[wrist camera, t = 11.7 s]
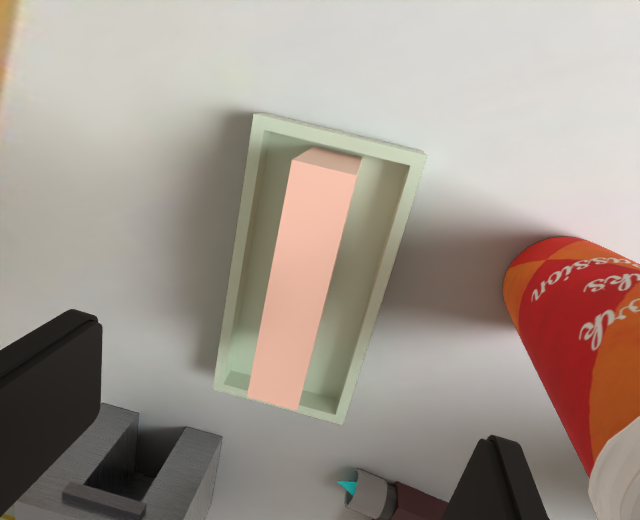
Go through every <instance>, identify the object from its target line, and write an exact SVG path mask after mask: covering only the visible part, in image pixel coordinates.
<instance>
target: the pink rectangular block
mask: <svg viewBox="0 0 640 520" xmlns="http://www.w3.org/2000/svg"><path fill="white" fill-rule="evenodd" d="M361 161H362V157H361V156H357V155H353V154H349V153H345V152H341V151H337V150H333V149H329V148H324V147H320V146H314V147H312V148H311V149H309V150H307V151H306V152H304V153H302V154H301V155H299V156H297V157H296V158H294V159H292V162H291V168H290V173H289V178H288V183H287V189H286V194H285V199H284V204H283V210H282V215H281V220H280V225H279V231H278V236H277V241H276V246H275V252H274V257H273V262H272V267H271V273H270V278H269V283H268V288H267V294H266V299H265V304H264V309H263V315H262V320H261V325H260V330H259V336H258V341H257V346H256V351H255V357H254V362H253V367H252V373H251V378H250V383H249V388H248V394H247V397H249V398H252V399H256V400H260V401H263V402H267V403H271V404H274V405H278V406H281V407H285V408H289V409H292V410H296V411H297V409H298V405H299V402H300V398H301V394H302V390H303V387H304V383H305V379H306V375H307V372H308V368H309V364H310V361H311V357H312V353H313V349H314V346H315V342H316V338H317V334H318V330H319V326H320V322H321V318H322V314H323V310H324V307H325V303H326V299H327V295H328V291H329V287H330V283H331V279H332V275H333V271H334V267H335V263H336V259H337V255H338V251H339V248H340V244H341V240H342V236H343V232H344V228H345V224H346V220H347V216H348V212H349V208H350V204H351V200H352V196H353V192H354V189H355V185H356V181H357V177H358V173H359V169H360V165H361Z"/></svg>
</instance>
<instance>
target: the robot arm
mask: <svg viewBox="0 0 640 520" xmlns="http://www.w3.org/2000/svg"><path fill="white" fill-rule="evenodd" d="M102 330H103V329H102V325H101V324H100V323H98V319H97V317H96V316H94V315H91V314H88V313H85V312H81V311H78V310H75V309H70V310H68V311H66V312H64V313H62V314H61V315H59V316H57V317H56V318H54V319H52V320H51V321H49V322H47V323H45V324H44V325H42V326H40V327H39V328H37V329H35V330H34V331H32V332H30V333H29V334H27V335H25V336H24V337H22V338H20V339H19V340H17V341H15V342H13V343H12V344H10V345H8V346H7V347H5V348H3V349H2V350H0V517H1V516H2V515H3V514H4V513H5V512H6V511H7V510H8V509H9V508H10V507H11V506H12V505H13V504H14V503H15V502H16V501H17V500H18V499H19V498H20V497H21V496H22V495H23V494H24V493H25V492H26V491H27V490H28V489H29V488H30V487H31V486H32V485H33V484H34V483H35V482H36V481H37V480H38V479H39V478H40V477H41V476H42V474H43V473H44V472H45V471H46V470H47V469H48V468H49V467H50V466H51V465H52V464H53V463H54V462H55V461H56V460H57V459H58V458H59V457H60V456H61V455H62V454H63V453H64V452H65V451H66V450H67V449H68V448H69V447H70V446H71V445H72V444H73V443H74V442H75V441H76V440H77V439H78V438H79V437H80V436H81V435H82V434H83V433H84V432H85V431H86V430H87V429H88V428H89V427H90V426H91V425H92V424H93V422H94V421H95V420H96V418H97V416H98V414H99V411H100V402H101V366H102ZM441 520H550V519H549V518H548V516H547V514H546V511H545V508H544V506H543V503H542V501H541V498H540V495H539V493H538V490H537V488H536V485H535V482H534V480H533V477H532V474H531V472H530V469H529V467H528V464H527V461H526V459H525V456H524V453H523V451H522V448H521V446H520V445H519V444H518V443H517V442H514V441H511V440H508V439H504V438H501V437H498V436H495V435H490V436H489V437H488V438H487V440H485V439H480V440H479V442H478V443H477V445H476V448H475V450H474V452H473V454H472V456H471V458H470V460H469V462H468V464H467V466H466V468H465V471H464V473H463V475H462V477H461V479H460V481H459V483H458V485H457V487H456V489H455V491H454V493H453V496H452V498H451V500H450V502H449V504H448V506H447V508H446V510H445V512H444V514H443V516H442V519H441Z"/></svg>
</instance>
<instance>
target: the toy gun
mask: <svg viewBox="0 0 640 520" xmlns="http://www.w3.org/2000/svg"><path fill="white" fill-rule="evenodd" d="M355 472H357V473H358V480H357V482H352V481H337V482H338V483H339V484H340V485H342V486H343V487H344V488H345V489H346V494H345V507H347V508H349V509H352V510H354V511H356V512H359V513H361V514H364V515H366V516H369V517H371V518H373V519H372V520H441V519H442V516H443V514H444V512H445V510H446V508H447V506H448V504H449V503H447V502H445V501H442V500H440V499H438V498H435V497H433V496H430V495H428V494H425V493H424V492H422V491H419V490H417V489H415V488H412V487H410V486H407V485H405V484H402V483H400V482H396V484H395V485H394V487H393V486H390V485H388V484H387V482H386V480H384V479H382V478H379V477H377V476H374V475H372V474H369V473H367V472H365V471H362V470H360V469H357V470H356V471H355Z"/></svg>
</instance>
